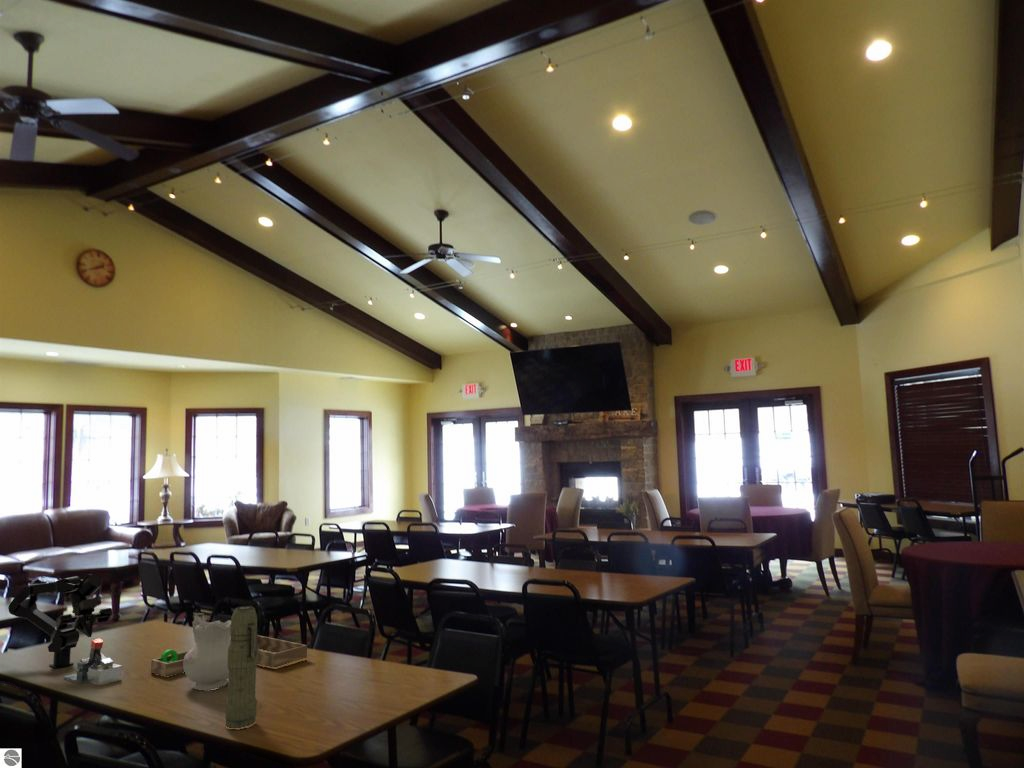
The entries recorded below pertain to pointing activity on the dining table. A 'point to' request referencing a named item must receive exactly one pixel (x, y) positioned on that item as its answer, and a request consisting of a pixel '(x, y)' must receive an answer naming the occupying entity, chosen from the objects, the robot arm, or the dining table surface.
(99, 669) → the housing
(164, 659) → the mechanical part
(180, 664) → the part crate
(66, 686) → the dining table surface
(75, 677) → the press frame
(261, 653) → the brown open crate
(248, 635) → the thermos
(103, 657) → the lever
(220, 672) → the ceramic pitcher
